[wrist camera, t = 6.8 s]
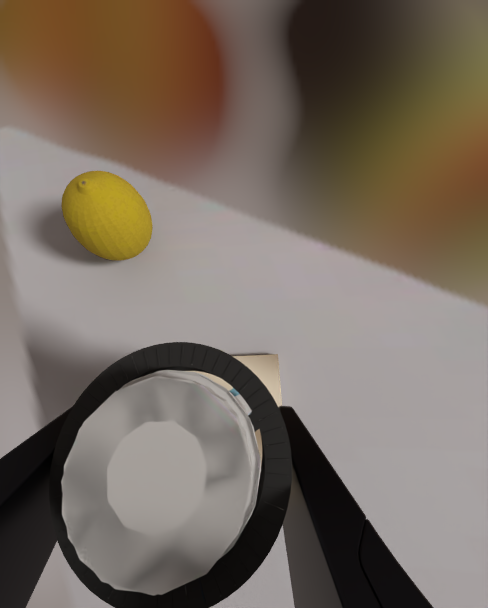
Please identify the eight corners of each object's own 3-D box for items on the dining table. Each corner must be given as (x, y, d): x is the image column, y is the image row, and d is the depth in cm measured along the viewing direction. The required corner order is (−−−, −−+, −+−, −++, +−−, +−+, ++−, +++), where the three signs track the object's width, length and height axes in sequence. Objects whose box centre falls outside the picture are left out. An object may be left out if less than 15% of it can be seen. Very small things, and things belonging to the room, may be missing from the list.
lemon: (86, 238, 24) (19, 172, 17) (142, 207, 26) (102, 131, 18) (118, 287, 23) (61, 239, 16) (174, 252, 24) (148, 191, 17)
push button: (175, 522, 13) (-6, 837, 4) (125, 422, 15) (-96, 473, 5) (287, 438, 14) (360, 523, 5) (231, 352, 16) (204, 288, 6)
